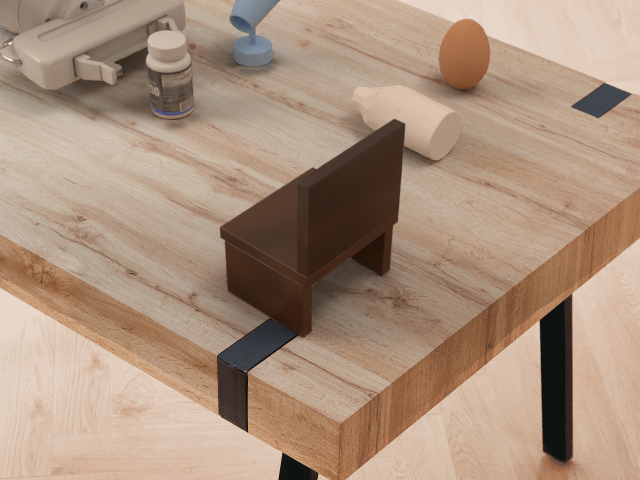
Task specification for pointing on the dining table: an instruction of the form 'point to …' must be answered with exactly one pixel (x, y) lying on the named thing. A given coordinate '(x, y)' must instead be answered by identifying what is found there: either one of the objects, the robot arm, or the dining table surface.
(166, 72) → the pill bottle
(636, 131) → the dining table surface
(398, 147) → the small wooden chair
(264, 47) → the spotlight
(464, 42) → the egg
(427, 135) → the beige bottle
